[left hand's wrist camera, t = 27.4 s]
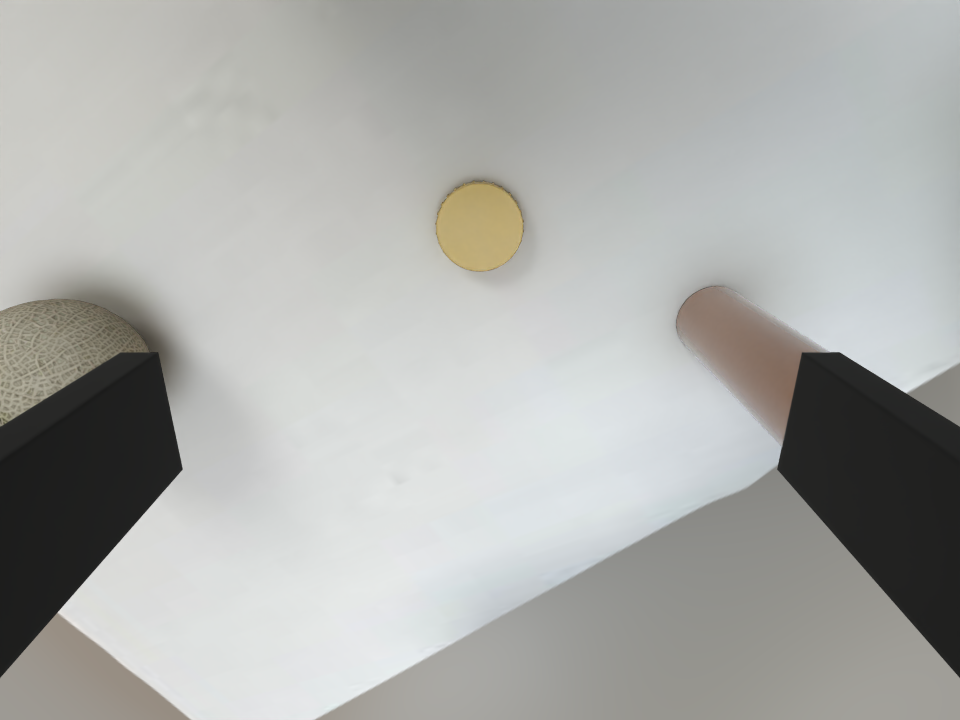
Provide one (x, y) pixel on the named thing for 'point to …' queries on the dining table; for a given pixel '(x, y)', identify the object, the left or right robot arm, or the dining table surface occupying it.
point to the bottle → (746, 352)
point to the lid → (479, 226)
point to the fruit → (55, 348)
